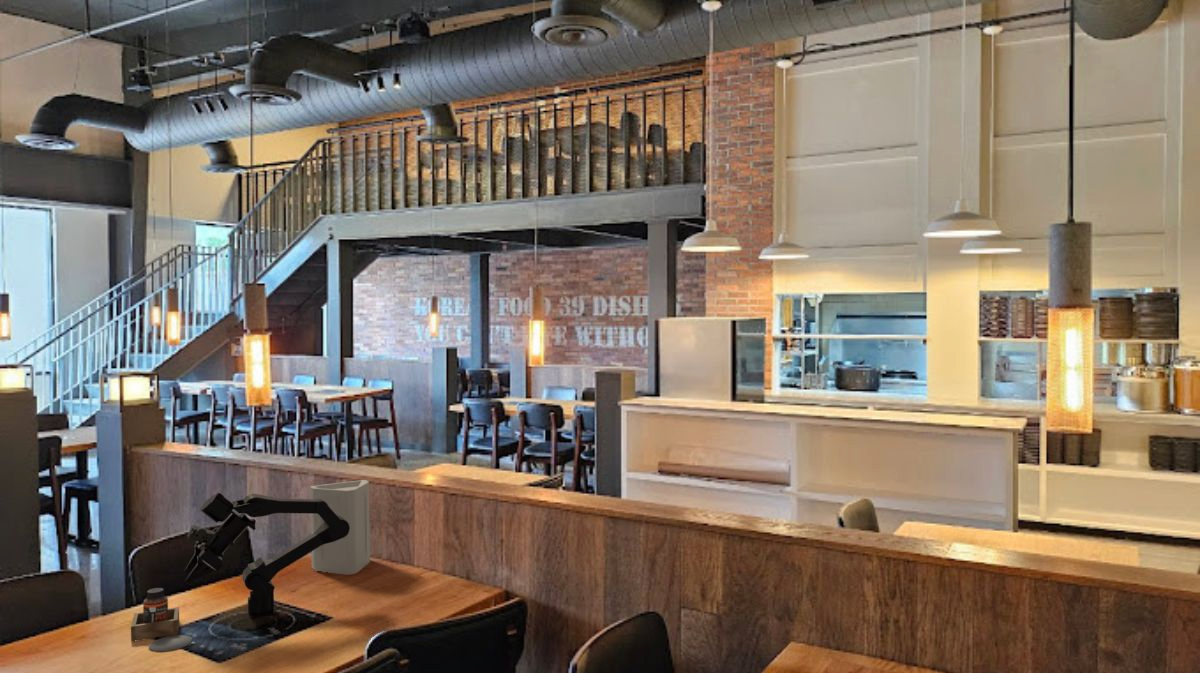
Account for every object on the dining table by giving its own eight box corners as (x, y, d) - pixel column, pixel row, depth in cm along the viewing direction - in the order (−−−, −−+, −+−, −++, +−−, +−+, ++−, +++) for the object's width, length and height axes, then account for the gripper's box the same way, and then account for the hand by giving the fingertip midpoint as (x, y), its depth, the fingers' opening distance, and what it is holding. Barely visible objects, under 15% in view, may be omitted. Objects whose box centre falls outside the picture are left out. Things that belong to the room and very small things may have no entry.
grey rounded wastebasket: (322, 579, 269) (321, 493, 269) (311, 567, 282) (309, 486, 281) (380, 568, 280) (378, 486, 279) (366, 558, 292) (365, 479, 291)
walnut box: (179, 621, 233) (179, 607, 233) (177, 634, 223) (177, 619, 223) (134, 627, 228) (134, 613, 228) (131, 641, 218) (130, 626, 218)
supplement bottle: (157, 636, 222) (156, 594, 222) (138, 634, 223) (137, 593, 223) (173, 627, 228) (172, 587, 228) (154, 626, 229) (153, 585, 229)
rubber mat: (192, 634, 223) (192, 632, 223) (191, 647, 214) (191, 646, 214) (150, 640, 219) (150, 639, 219) (147, 654, 210) (147, 653, 210)
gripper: (203, 508, 239) (161, 551, 234) (208, 522, 223) (163, 569, 218) (233, 531, 243) (192, 574, 238) (240, 546, 227) (196, 593, 222)
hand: (185, 577), depth 229 cm, fingers open, 9 cm apart
